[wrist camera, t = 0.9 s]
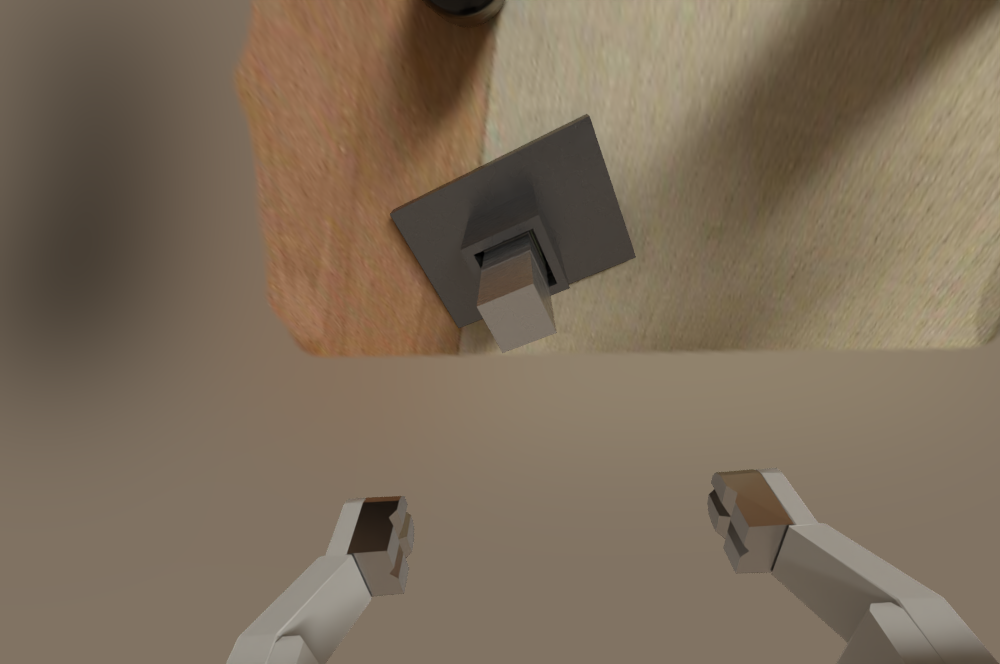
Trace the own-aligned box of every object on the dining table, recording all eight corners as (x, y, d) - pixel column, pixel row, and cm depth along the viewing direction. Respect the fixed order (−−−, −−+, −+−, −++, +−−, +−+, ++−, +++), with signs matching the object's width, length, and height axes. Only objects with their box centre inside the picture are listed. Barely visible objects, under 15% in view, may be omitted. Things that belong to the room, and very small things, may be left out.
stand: (586, 114, 38) (609, 130, 29) (632, 251, 45) (662, 299, 36) (393, 209, 43) (362, 248, 34) (460, 321, 50) (448, 378, 41)
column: (526, 208, 41) (533, 282, 27) (542, 246, 43) (557, 333, 29) (487, 226, 42) (475, 306, 28) (504, 263, 44) (502, 353, 30)
